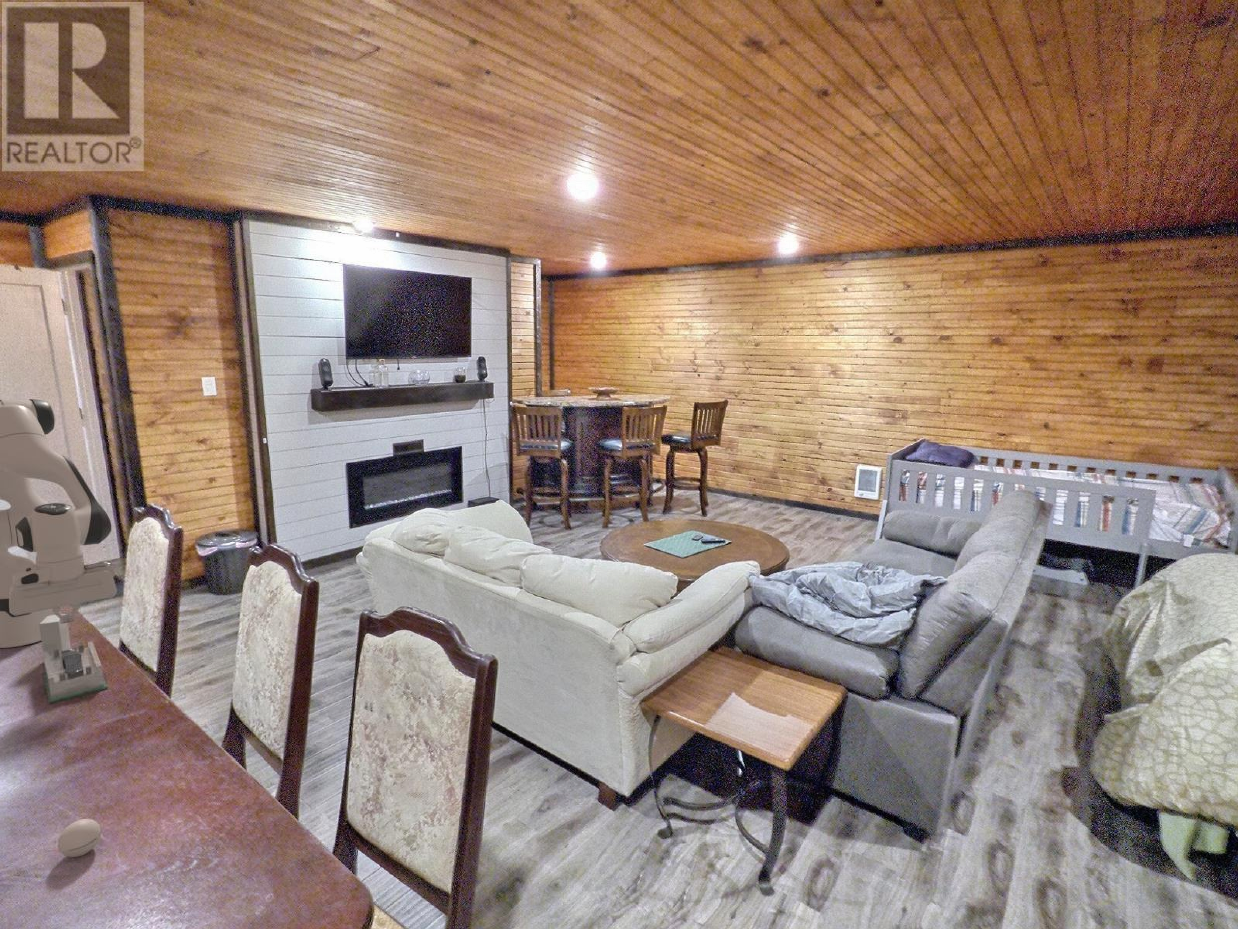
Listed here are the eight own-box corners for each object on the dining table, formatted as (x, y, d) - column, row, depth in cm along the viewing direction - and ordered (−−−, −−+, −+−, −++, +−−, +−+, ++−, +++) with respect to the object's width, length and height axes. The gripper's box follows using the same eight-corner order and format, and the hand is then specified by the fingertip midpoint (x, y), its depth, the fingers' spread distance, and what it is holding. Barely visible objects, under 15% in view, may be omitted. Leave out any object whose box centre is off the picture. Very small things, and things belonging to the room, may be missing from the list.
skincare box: (52, 656, 176) (47, 615, 174) (72, 653, 177) (66, 613, 175) (43, 665, 170) (38, 624, 168) (64, 663, 172) (58, 621, 170)
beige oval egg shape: (57, 871, 103) (53, 840, 102) (61, 849, 108) (57, 820, 107) (117, 850, 108) (113, 821, 107) (118, 830, 112) (115, 802, 111)
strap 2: (83, 674, 157) (83, 671, 157) (67, 678, 155) (67, 675, 155) (79, 654, 162) (79, 652, 161) (64, 658, 159) (63, 655, 159)
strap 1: (61, 654, 167) (61, 651, 167) (76, 651, 169) (76, 647, 169) (64, 662, 162) (63, 659, 161) (79, 659, 164) (78, 655, 164)
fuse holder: (43, 673, 166) (39, 649, 165) (96, 660, 174) (94, 637, 173) (49, 704, 152) (45, 679, 150) (107, 688, 159) (104, 664, 158)
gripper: (112, 557, 165) (118, 607, 168) (4, 575, 151) (12, 629, 153) (116, 563, 161) (122, 614, 163) (5, 581, 147) (13, 637, 149)
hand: (67, 622), depth 158 cm, fingers closed
